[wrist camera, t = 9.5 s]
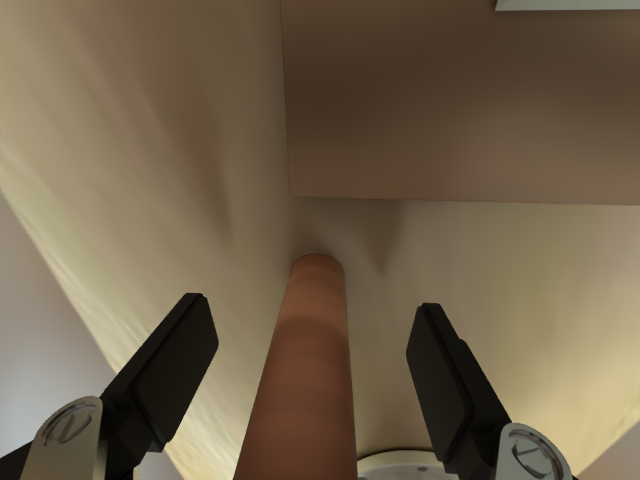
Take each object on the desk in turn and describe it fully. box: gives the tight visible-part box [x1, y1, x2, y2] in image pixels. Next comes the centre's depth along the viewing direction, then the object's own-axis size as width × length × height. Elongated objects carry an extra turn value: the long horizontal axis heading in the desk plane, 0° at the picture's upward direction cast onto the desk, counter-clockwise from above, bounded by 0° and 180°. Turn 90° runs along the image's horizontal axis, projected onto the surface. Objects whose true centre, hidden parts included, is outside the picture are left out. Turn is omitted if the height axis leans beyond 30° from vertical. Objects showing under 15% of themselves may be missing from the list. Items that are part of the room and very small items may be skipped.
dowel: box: [233, 254, 358, 480], centre depth 9 cm, size 3×3×9 cm
